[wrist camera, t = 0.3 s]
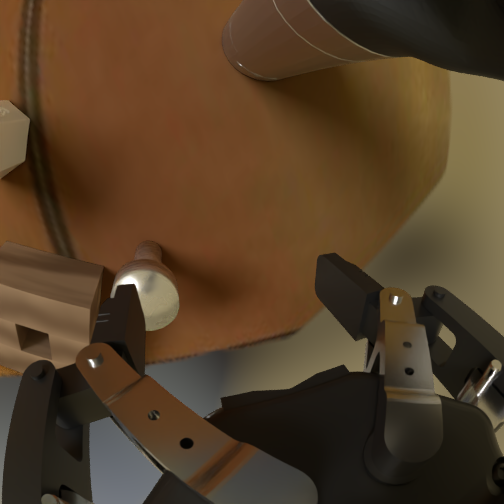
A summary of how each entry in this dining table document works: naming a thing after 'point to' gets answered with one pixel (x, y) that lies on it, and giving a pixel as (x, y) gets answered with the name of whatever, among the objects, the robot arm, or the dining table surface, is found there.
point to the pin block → (45, 306)
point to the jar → (12, 137)
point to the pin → (151, 285)
